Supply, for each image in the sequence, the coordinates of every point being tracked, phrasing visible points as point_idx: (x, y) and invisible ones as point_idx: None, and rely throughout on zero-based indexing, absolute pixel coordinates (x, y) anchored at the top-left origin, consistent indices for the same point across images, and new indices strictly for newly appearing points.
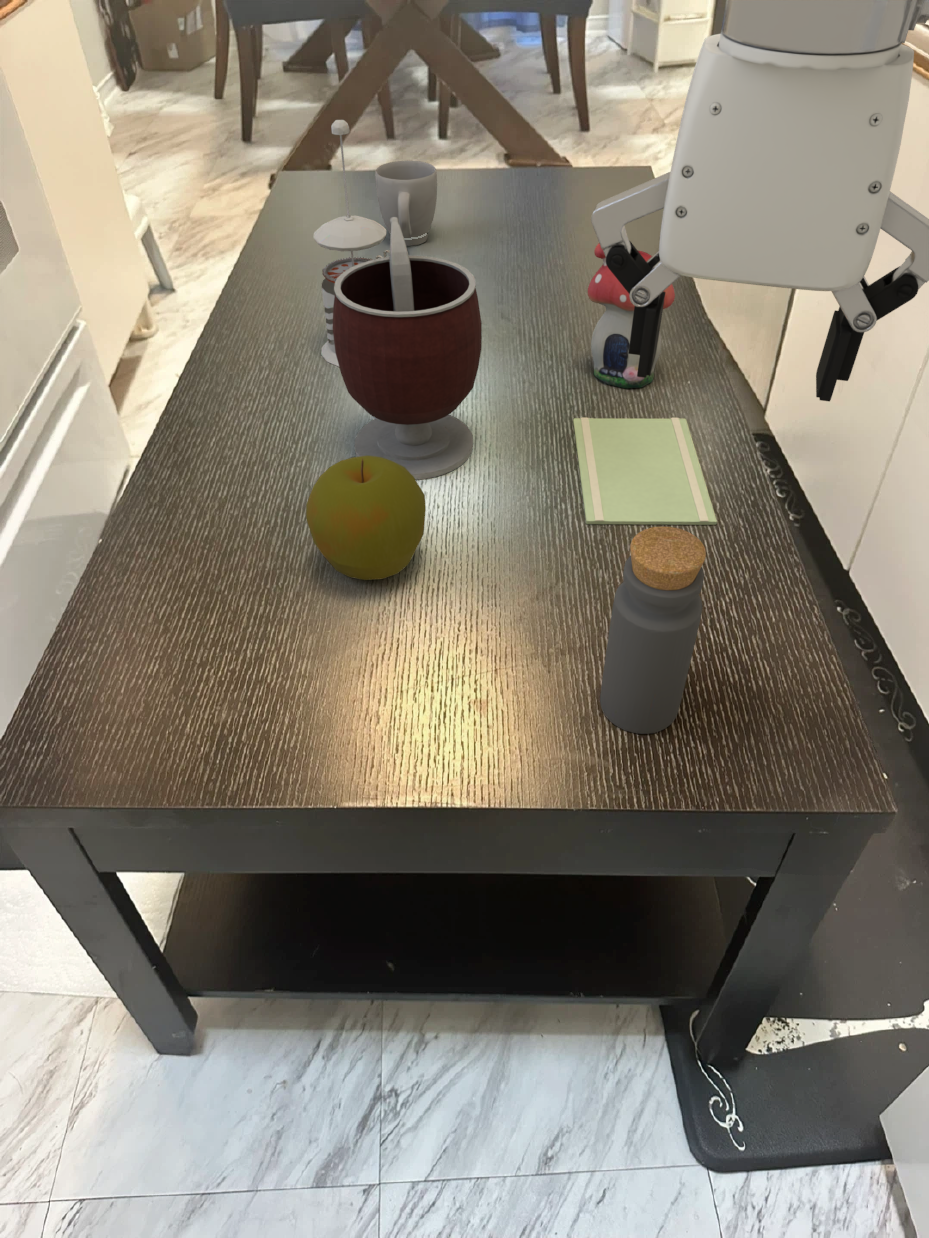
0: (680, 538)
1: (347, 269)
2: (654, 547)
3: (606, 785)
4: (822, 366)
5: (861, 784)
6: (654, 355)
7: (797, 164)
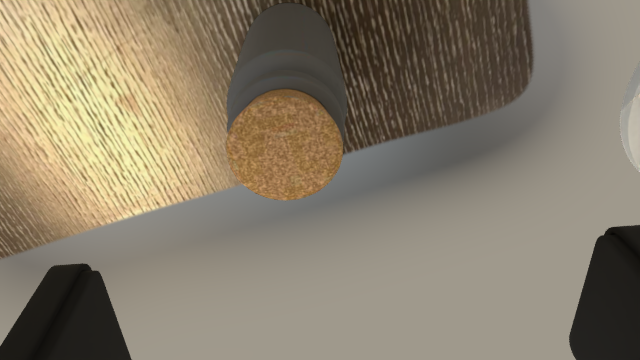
0: (298, 124)
1: None
2: (264, 156)
3: None
4: (615, 351)
5: (520, 78)
6: (108, 347)
7: None
